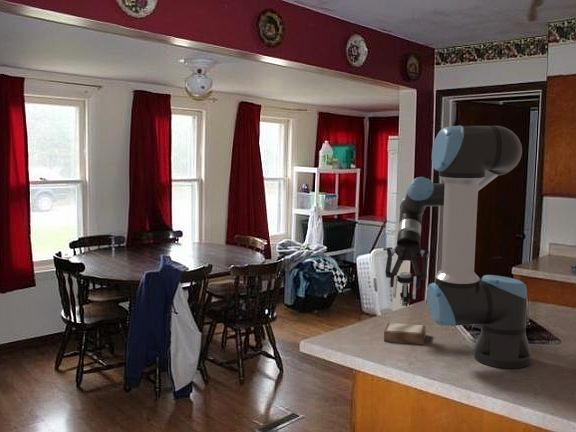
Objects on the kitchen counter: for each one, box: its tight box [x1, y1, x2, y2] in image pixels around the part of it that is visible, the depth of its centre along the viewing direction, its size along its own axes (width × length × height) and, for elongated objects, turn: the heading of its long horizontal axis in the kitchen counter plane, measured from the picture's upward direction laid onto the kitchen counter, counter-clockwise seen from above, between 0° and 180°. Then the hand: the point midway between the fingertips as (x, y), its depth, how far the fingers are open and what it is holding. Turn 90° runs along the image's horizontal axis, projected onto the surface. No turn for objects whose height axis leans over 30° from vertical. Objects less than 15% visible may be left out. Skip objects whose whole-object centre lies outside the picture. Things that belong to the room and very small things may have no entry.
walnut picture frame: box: [383, 322, 427, 345], centre depth 181 cm, size 12×10×3 cm
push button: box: [396, 271, 414, 307], centre depth 180 cm, size 7×5×10 cm
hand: (404, 296), depth 177 cm, fingers closed on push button, 5 cm apart
